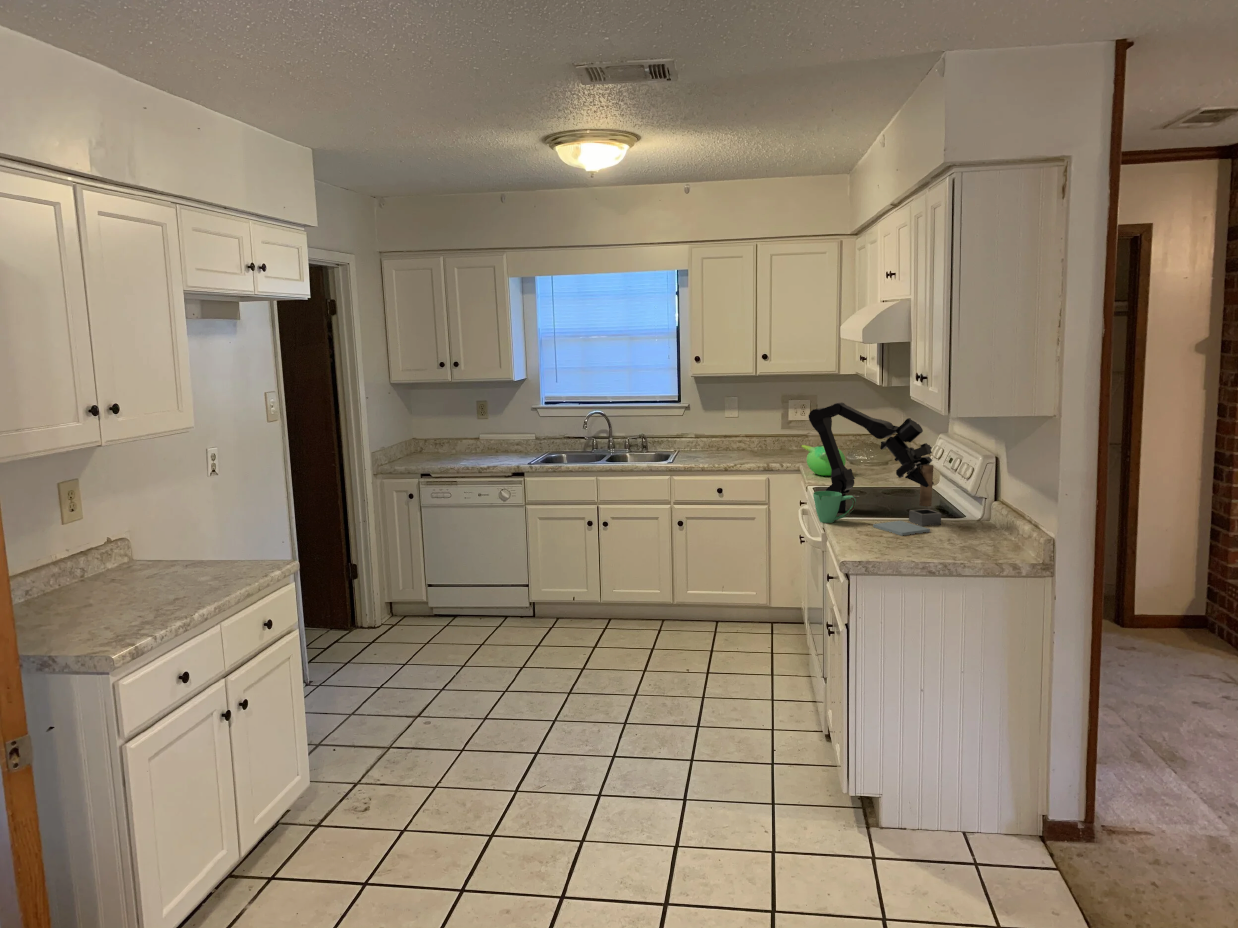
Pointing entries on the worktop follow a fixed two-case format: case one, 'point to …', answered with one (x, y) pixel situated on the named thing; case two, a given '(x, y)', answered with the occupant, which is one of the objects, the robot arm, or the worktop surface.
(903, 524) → the board
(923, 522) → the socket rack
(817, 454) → the toy bird
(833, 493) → the mug
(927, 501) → the dowel
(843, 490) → the robot arm
